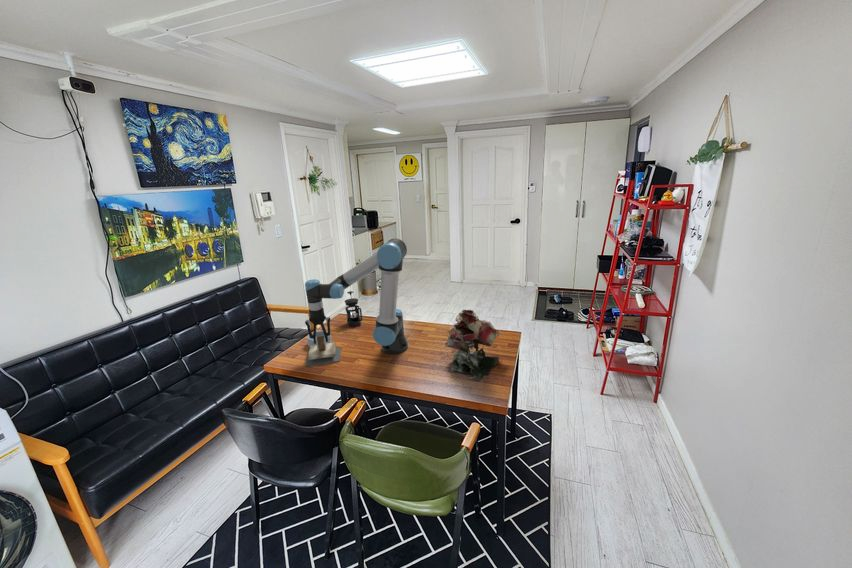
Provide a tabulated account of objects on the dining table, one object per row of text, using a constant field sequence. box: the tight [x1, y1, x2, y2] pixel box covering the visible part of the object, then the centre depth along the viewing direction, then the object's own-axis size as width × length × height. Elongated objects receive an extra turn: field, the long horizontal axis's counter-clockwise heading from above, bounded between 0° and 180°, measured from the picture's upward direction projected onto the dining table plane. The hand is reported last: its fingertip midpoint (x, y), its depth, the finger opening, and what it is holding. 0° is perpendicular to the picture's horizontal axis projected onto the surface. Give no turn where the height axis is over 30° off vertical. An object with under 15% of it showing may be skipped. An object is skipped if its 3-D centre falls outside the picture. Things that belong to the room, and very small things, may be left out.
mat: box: [305, 347, 341, 368], centre depth 198 cm, size 18×16×1 cm
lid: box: [307, 335, 337, 360], centre depth 196 cm, size 14×14×10 cm
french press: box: [344, 290, 363, 328], centre depth 236 cm, size 12×9×23 cm
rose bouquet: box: [444, 309, 500, 382], centre depth 179 cm, size 26×29×30 cm
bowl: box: [306, 329, 332, 348], centre depth 213 cm, size 13×13×6 cm
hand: (322, 347), depth 196 cm, fingers closed on lid, 4 cm apart
